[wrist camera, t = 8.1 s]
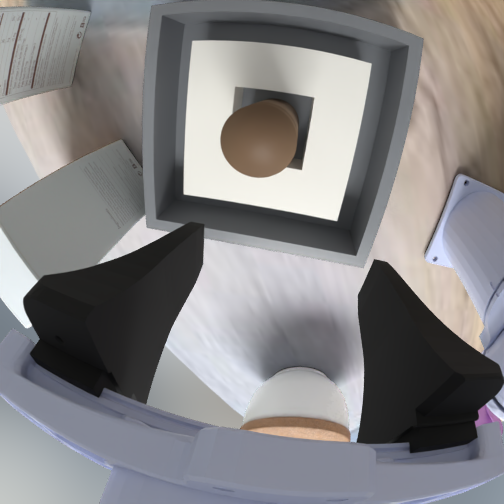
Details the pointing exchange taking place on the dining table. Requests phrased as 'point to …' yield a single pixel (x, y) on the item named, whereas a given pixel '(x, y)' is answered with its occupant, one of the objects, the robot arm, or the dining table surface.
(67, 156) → the dining table surface
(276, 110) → the peg
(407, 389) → the robot arm
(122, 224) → the small box
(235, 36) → the square hole block
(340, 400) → the lidded bowl
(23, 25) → the supplement box
